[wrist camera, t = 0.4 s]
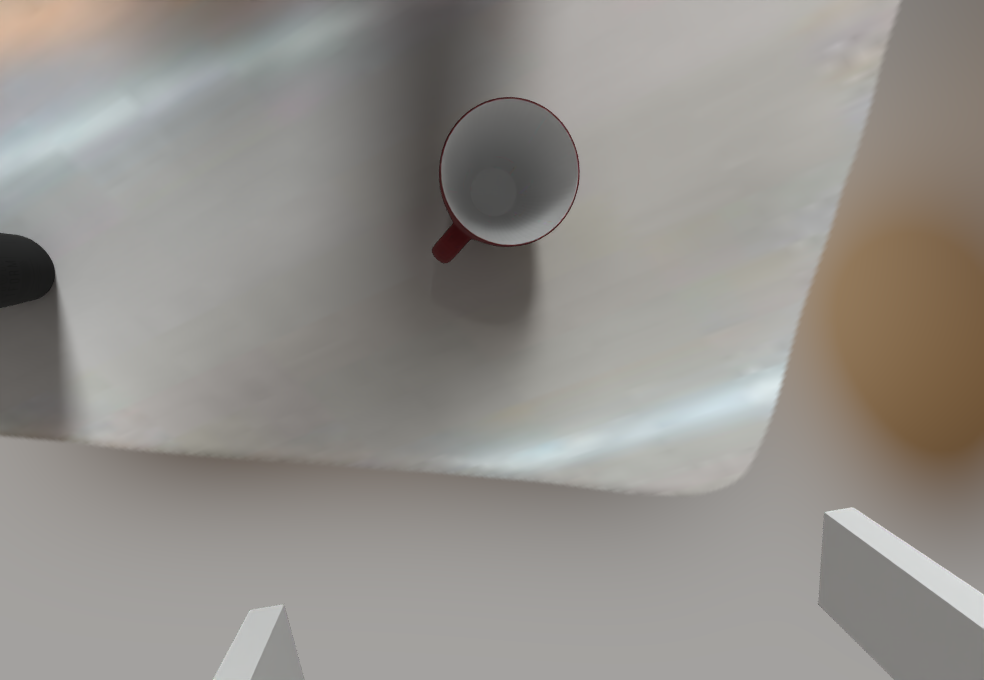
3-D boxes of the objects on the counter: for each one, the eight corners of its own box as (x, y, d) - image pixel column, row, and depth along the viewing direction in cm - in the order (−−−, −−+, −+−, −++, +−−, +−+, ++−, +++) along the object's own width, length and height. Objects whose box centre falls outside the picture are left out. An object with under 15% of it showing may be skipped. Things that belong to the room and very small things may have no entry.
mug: (489, 290, 37) (504, 308, 27) (404, 233, 35) (387, 231, 26) (564, 178, 36) (608, 155, 26) (478, 114, 34) (491, 63, 24)
